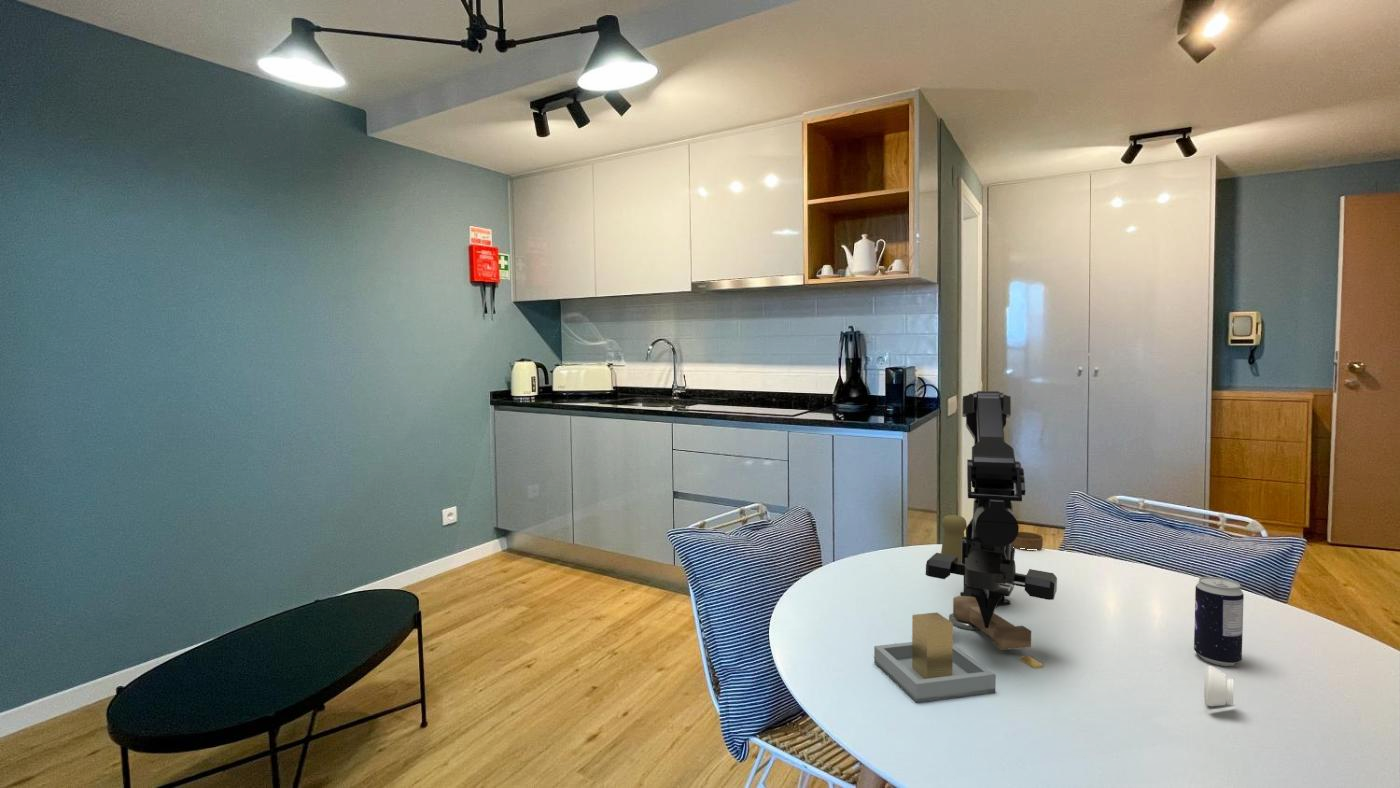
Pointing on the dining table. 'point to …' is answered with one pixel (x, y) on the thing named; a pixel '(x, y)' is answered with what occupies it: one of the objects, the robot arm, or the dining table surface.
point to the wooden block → (932, 645)
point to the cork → (953, 535)
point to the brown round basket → (1028, 541)
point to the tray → (962, 683)
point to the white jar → (1217, 687)
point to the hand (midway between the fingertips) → (986, 627)
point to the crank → (992, 624)
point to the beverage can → (1218, 621)
